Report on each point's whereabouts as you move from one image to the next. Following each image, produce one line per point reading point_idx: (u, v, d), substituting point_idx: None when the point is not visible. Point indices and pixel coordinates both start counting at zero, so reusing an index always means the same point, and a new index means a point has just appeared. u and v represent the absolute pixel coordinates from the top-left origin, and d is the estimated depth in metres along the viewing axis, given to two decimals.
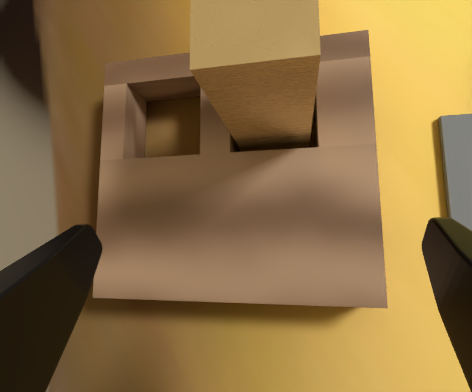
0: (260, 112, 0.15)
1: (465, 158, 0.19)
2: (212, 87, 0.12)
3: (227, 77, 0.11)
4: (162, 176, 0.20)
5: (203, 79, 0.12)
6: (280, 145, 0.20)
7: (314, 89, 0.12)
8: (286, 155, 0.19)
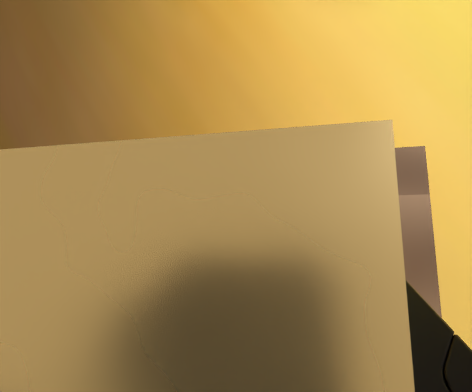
0: None
1: None
2: None
3: None
4: None
5: None
6: None
7: None
8: None
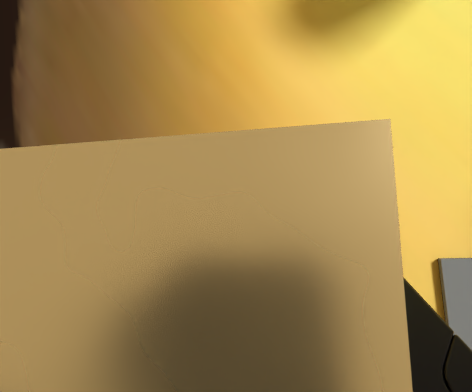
0: None
1: (467, 308, 0.18)
2: None
3: None
4: None
5: None
6: None
7: None
8: None
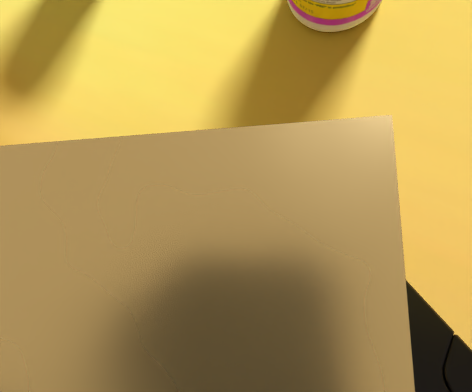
0: None
1: None
2: None
3: None
4: None
5: None
6: None
7: None
8: None
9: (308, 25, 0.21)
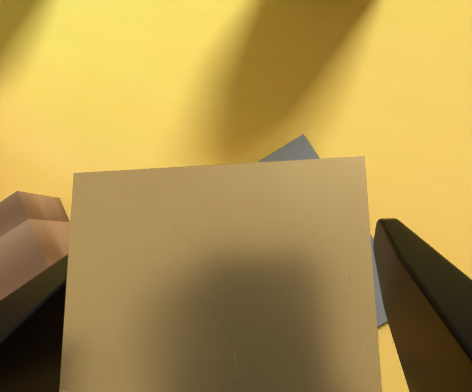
0: None
1: None
2: None
3: None
4: None
5: None
6: None
7: None
8: None
9: None
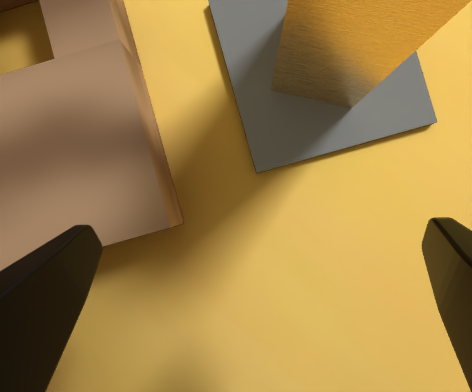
0: (358, 9, 0.09)
1: (241, 43, 0.17)
2: None
3: None
4: None
5: None
6: (329, 85, 0.15)
7: None
8: (18, 78, 0.15)
9: None
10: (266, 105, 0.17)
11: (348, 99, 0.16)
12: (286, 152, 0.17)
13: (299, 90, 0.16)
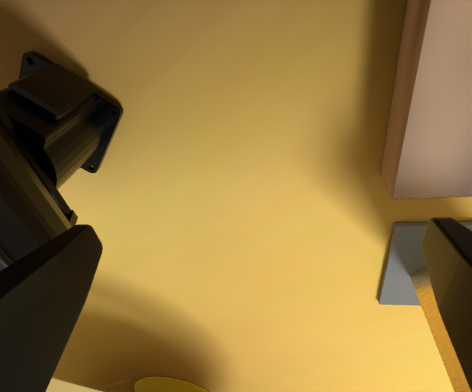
0: None
1: None
2: None
3: None
4: None
5: None
6: None
7: None
8: None
9: None
10: None
11: (418, 283, 0.25)
12: (400, 243, 0.24)
13: None
